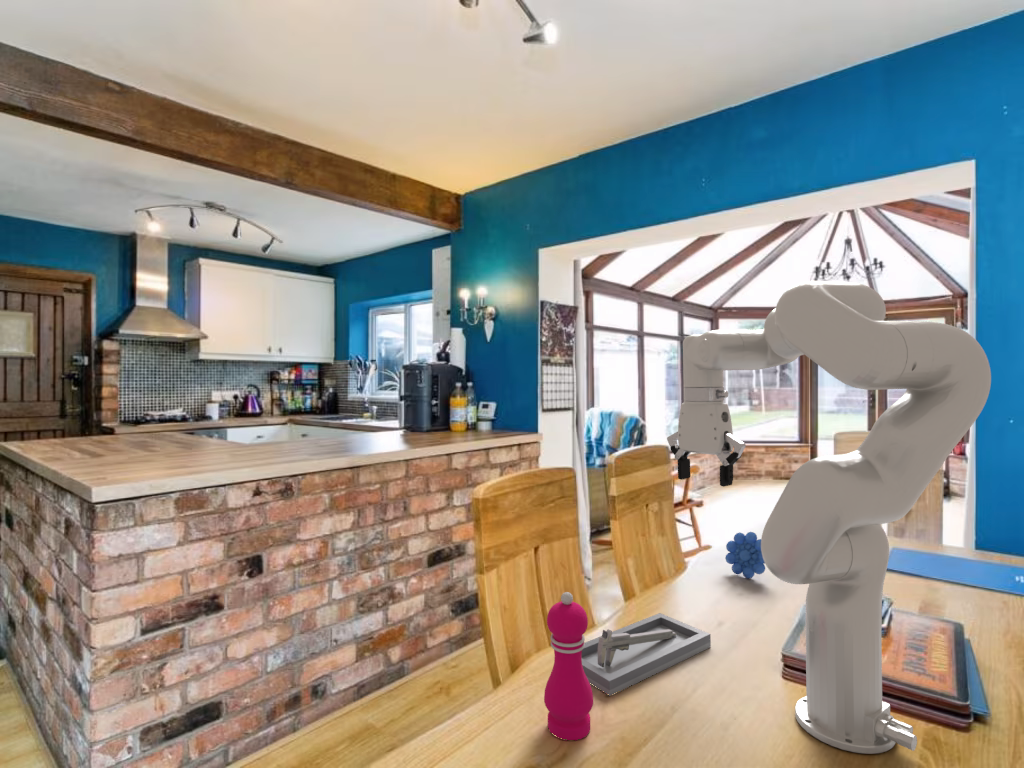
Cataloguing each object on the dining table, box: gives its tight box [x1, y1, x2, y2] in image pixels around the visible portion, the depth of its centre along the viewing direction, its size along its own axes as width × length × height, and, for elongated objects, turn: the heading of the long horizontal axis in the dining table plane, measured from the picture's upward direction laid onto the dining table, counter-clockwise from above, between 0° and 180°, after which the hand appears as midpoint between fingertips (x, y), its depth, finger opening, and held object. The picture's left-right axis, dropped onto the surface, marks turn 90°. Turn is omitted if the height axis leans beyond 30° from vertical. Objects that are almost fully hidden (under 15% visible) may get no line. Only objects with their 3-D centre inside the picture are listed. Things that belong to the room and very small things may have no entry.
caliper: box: [598, 628, 677, 667], centre depth 102 cm, size 20×1×6 cm, turn 126°
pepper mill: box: [543, 591, 594, 741], centre depth 82 cm, size 7×7×20 cm
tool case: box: [581, 612, 712, 697], centre depth 102 cm, size 12×27×2 cm, turn 126°
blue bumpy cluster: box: [725, 531, 766, 579], centre depth 141 cm, size 12×7×12 cm, turn 39°
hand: (704, 481), depth 111 cm, fingers open, 9 cm apart
